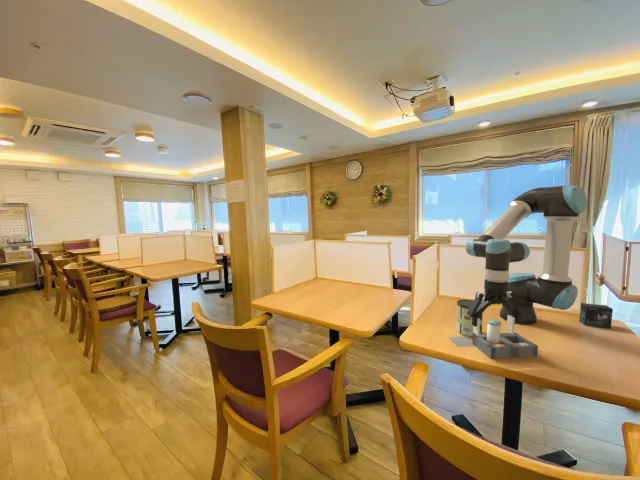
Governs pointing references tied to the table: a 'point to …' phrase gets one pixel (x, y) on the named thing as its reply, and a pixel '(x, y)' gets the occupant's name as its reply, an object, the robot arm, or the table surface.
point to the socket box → (506, 346)
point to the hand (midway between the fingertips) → (493, 333)
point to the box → (596, 315)
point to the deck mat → (461, 341)
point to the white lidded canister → (493, 331)
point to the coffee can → (465, 319)
